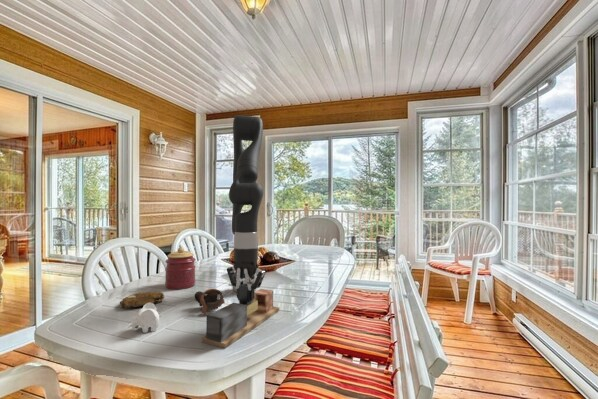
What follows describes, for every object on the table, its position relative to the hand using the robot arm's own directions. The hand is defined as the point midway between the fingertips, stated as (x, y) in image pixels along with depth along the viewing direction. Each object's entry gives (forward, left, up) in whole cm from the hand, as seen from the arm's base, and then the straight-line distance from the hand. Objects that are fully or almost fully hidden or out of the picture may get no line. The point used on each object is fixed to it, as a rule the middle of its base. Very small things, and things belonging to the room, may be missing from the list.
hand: (245, 300), depth 94 cm
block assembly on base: (0, 0, -8) cm, 8 cm away
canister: (-52, +23, -8) cm, 57 cm away
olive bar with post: (0, -4, -4) cm, 6 cm away
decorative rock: (-47, 0, -8) cm, 47 cm away
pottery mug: (-20, +6, -8) cm, 22 cm away
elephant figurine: (-25, -16, -8) cm, 31 cm away
